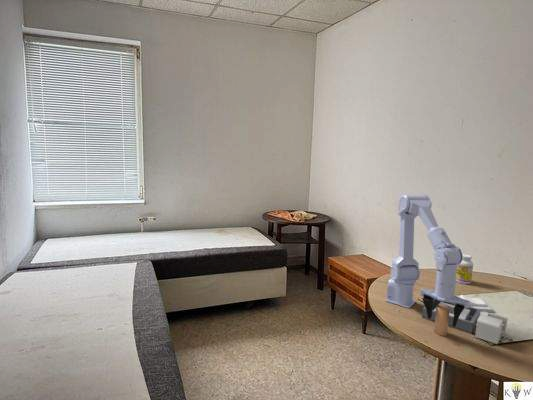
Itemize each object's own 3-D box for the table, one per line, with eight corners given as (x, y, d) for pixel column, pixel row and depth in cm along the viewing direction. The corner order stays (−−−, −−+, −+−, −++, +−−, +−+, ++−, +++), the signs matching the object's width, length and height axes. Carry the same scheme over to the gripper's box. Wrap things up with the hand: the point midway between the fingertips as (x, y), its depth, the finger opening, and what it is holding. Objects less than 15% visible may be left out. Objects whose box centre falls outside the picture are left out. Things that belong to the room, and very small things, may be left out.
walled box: (422, 317, 127) (423, 308, 126) (433, 305, 137) (434, 296, 137) (471, 333, 116) (473, 323, 116) (479, 318, 127) (480, 309, 126)
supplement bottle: (451, 279, 165) (454, 253, 163) (462, 278, 167) (465, 252, 165) (463, 285, 159) (466, 258, 157) (474, 283, 161) (477, 257, 159)
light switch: (449, 291, 145) (483, 292, 142) (449, 300, 145) (482, 301, 143) (458, 302, 134) (494, 303, 131) (457, 312, 135) (494, 314, 132)
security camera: (483, 309, 120) (477, 319, 113) (507, 316, 115) (502, 327, 108) (481, 326, 121) (474, 337, 114) (505, 334, 116) (500, 346, 109)
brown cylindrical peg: (432, 332, 116) (434, 307, 115) (435, 328, 119) (438, 303, 118) (445, 337, 114) (448, 311, 112) (448, 332, 117) (451, 307, 115)
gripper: (418, 280, 115) (415, 318, 117) (467, 292, 106) (463, 333, 108) (425, 274, 121) (421, 311, 123) (472, 286, 111) (468, 325, 113)
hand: (441, 321), depth 116 cm, fingers open, 7 cm apart
